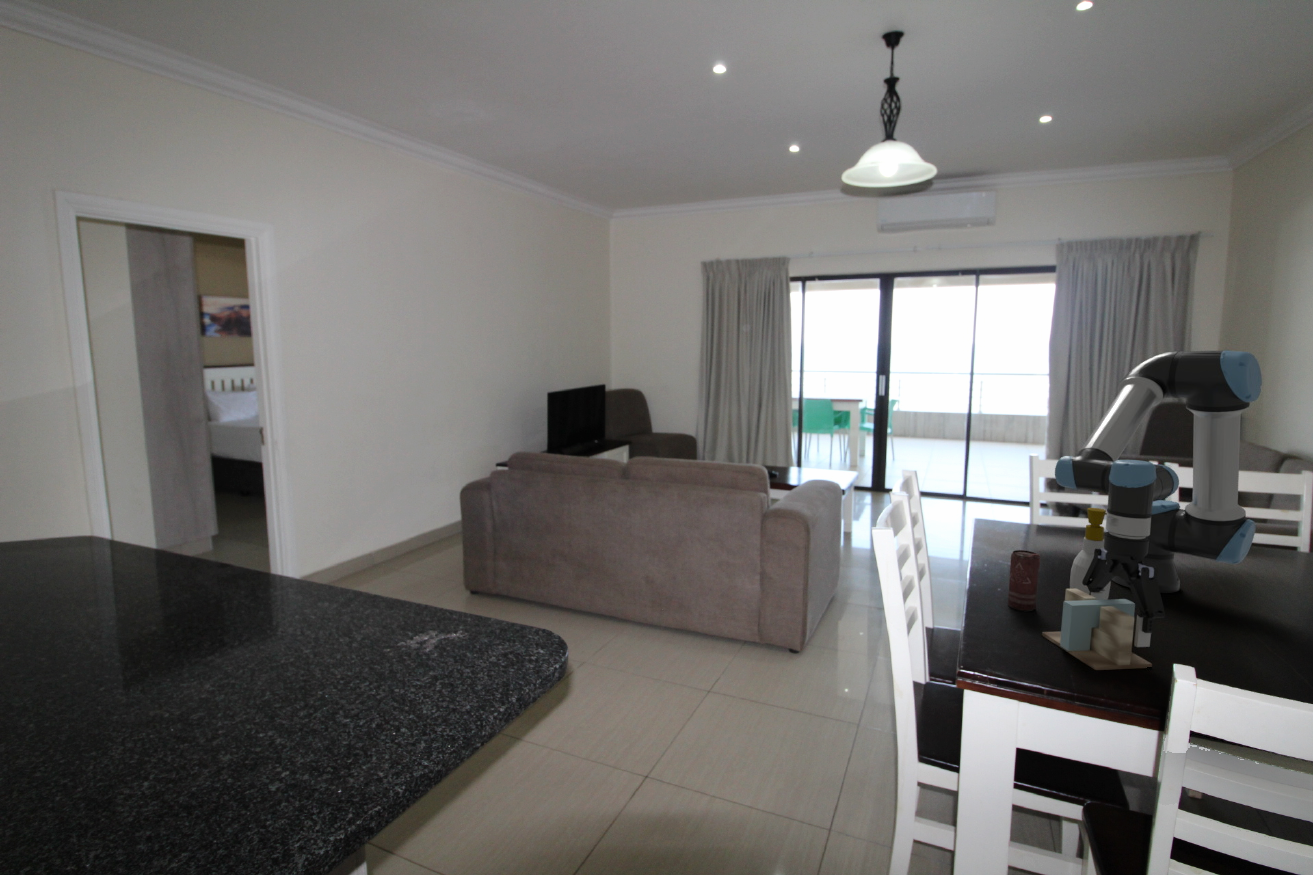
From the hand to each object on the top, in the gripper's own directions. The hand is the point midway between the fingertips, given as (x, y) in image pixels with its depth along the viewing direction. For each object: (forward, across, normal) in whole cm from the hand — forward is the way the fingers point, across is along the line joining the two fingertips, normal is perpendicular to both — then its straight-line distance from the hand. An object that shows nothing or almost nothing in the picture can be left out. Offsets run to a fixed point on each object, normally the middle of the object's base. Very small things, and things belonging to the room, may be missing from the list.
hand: (1117, 632), depth 137 cm
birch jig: (+4, 0, -5) cm, 6 cm away
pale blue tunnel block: (+3, 0, -5) cm, 6 cm away
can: (+4, -24, -5) cm, 25 cm away
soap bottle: (+4, -19, +9) cm, 21 cm away
